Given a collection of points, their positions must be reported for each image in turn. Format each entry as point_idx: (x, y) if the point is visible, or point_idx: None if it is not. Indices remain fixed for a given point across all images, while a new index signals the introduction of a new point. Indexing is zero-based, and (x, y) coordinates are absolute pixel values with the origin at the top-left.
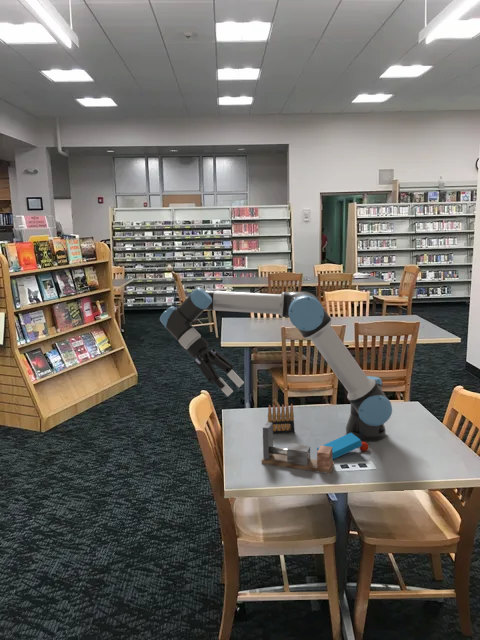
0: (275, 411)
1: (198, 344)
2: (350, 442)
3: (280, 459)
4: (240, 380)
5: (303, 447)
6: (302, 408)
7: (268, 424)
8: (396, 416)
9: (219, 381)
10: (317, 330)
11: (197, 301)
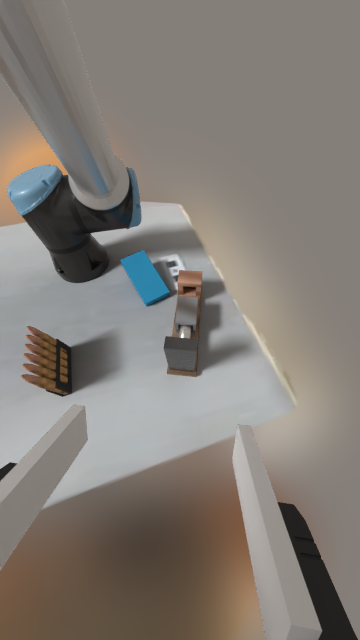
0: (38, 366)
1: None
2: (145, 261)
3: None
4: (69, 426)
5: (184, 303)
6: None
7: (177, 342)
8: (33, 241)
9: (324, 593)
10: None
11: None
